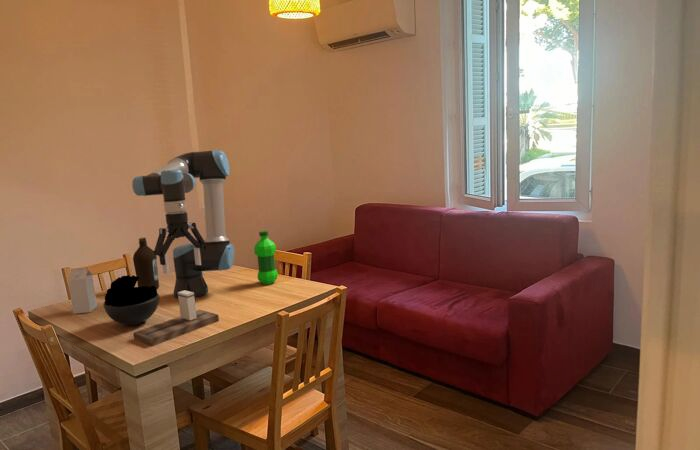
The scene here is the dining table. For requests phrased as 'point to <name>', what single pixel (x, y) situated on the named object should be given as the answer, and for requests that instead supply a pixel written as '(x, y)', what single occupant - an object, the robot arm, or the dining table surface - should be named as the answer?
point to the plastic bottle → (266, 259)
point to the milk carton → (82, 290)
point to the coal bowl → (130, 301)
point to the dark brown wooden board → (174, 328)
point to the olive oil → (146, 265)
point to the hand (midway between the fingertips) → (182, 269)
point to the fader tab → (187, 305)
